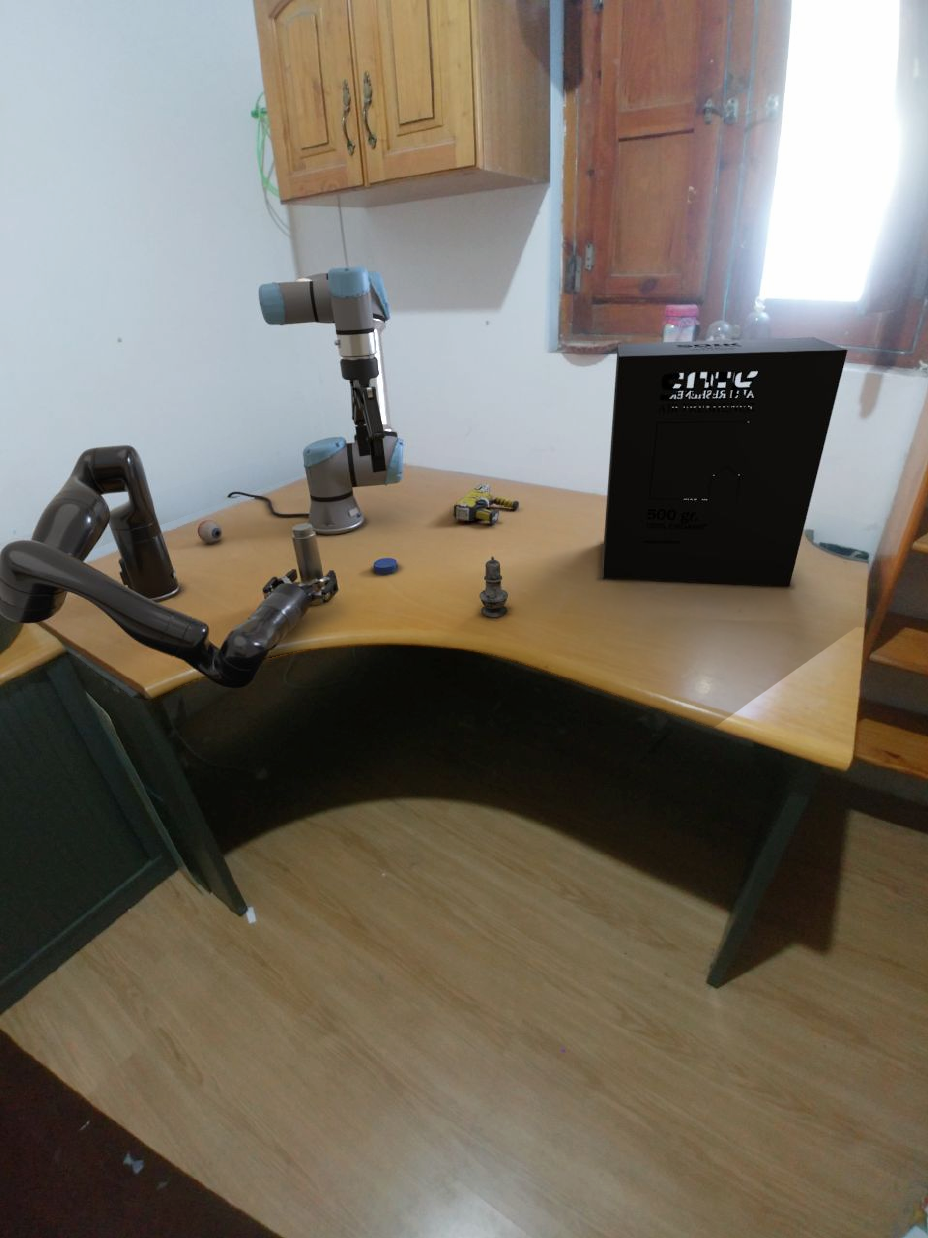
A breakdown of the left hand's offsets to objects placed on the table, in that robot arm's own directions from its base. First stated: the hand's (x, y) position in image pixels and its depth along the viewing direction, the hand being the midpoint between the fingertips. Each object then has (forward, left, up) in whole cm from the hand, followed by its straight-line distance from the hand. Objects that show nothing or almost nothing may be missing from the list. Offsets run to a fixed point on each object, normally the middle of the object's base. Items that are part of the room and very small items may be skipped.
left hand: (314, 573), depth 129 cm
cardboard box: (+80, +23, -6) cm, 83 cm away
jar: (0, -1, -6) cm, 6 cm away
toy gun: (+30, +55, -6) cm, 63 cm away
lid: (+11, +15, -4) cm, 19 cm away
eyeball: (-42, +28, -6) cm, 51 cm away
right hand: (+11, +16, +19) cm, 27 cm away
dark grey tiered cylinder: (+39, -3, -6) cm, 39 cm away
